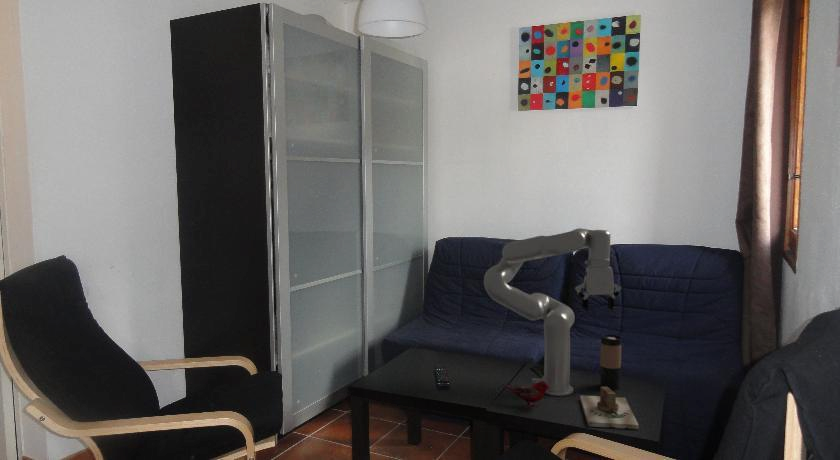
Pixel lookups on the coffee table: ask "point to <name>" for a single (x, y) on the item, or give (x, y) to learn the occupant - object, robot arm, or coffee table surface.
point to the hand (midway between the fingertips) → (597, 309)
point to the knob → (607, 401)
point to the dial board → (608, 414)
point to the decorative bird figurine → (531, 392)
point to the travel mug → (610, 362)
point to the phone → (538, 370)
